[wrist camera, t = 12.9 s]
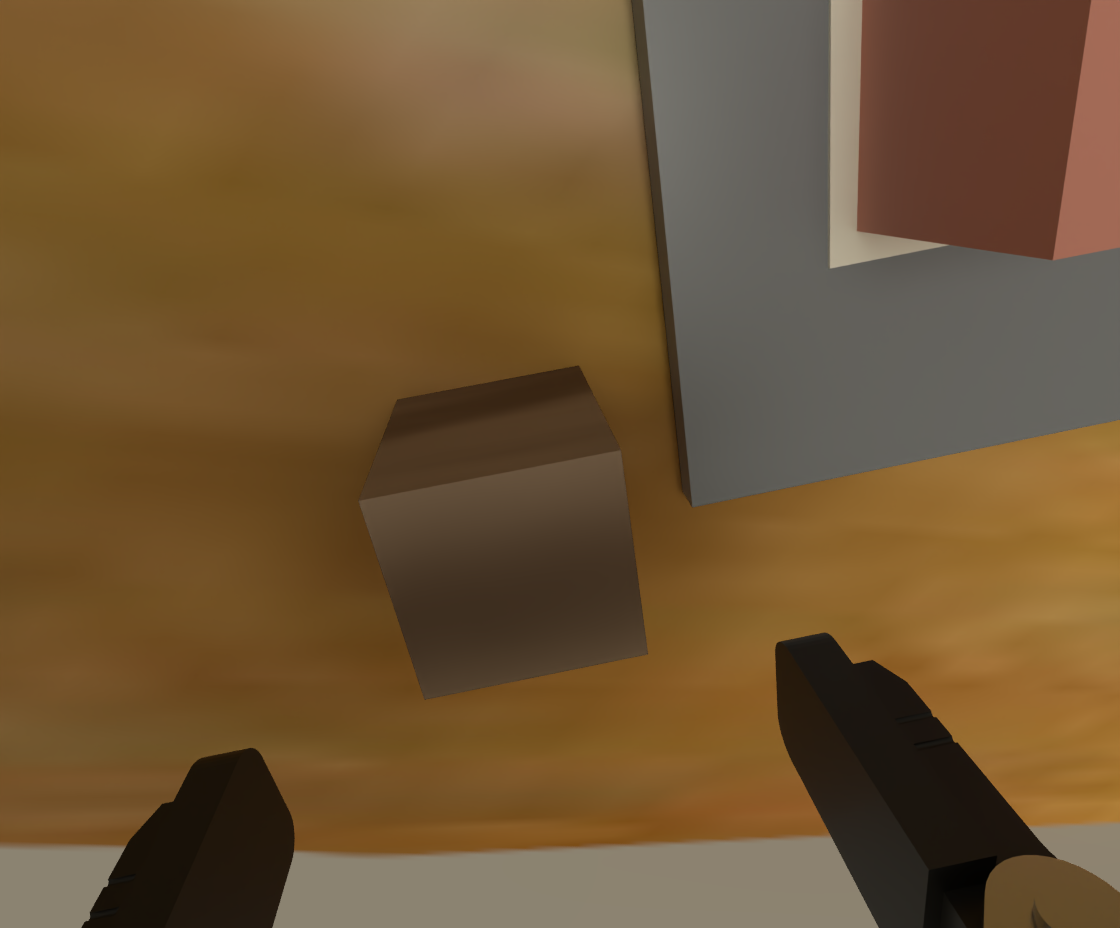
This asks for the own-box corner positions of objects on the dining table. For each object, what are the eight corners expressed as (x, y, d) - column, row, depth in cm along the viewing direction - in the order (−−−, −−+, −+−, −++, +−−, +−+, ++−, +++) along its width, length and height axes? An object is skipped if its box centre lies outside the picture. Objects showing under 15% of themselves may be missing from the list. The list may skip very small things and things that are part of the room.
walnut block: (397, 399, 17) (358, 501, 12) (578, 365, 18) (620, 450, 12) (441, 553, 20) (424, 699, 14) (602, 521, 20) (647, 654, 14)
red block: (863, -44, 13) (1119, -193, 8) (1116, -90, 14) (1536, -267, 8) (856, 231, 16) (1053, 260, 10) (1073, 189, 16) (1379, 196, 10)
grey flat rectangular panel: (585, -439, 12) (595, -496, 11) (1382, -571, 12) (1463, -640, 11) (682, 491, 19) (693, 508, 18) (1158, 394, 20) (1194, 406, 19)
